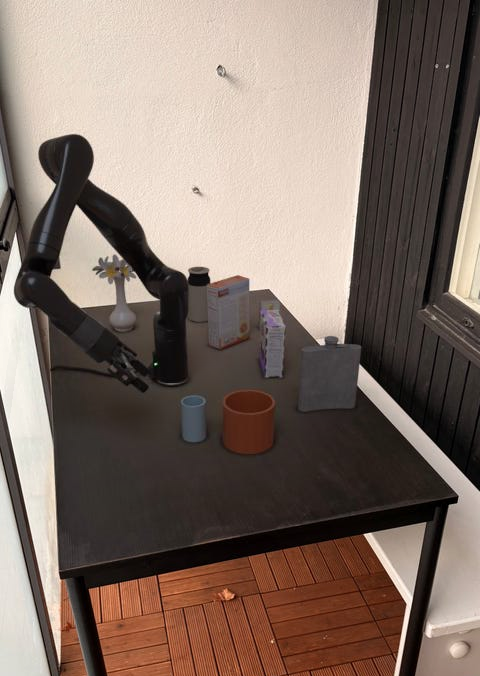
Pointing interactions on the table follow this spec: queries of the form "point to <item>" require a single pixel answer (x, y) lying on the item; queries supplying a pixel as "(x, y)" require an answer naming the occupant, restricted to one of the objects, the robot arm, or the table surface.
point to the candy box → (272, 343)
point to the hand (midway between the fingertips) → (147, 381)
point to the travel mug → (198, 293)
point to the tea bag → (268, 307)
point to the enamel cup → (193, 418)
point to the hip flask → (328, 376)
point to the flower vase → (118, 291)
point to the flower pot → (248, 421)
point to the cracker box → (228, 311)
